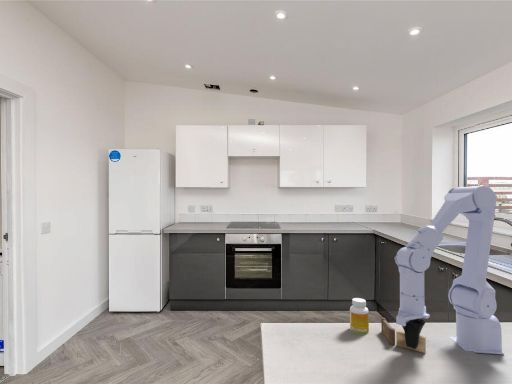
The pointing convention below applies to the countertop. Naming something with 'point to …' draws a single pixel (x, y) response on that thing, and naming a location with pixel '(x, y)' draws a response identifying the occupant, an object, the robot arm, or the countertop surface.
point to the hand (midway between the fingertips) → (412, 346)
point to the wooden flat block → (402, 343)
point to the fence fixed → (388, 331)
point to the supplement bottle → (359, 316)
